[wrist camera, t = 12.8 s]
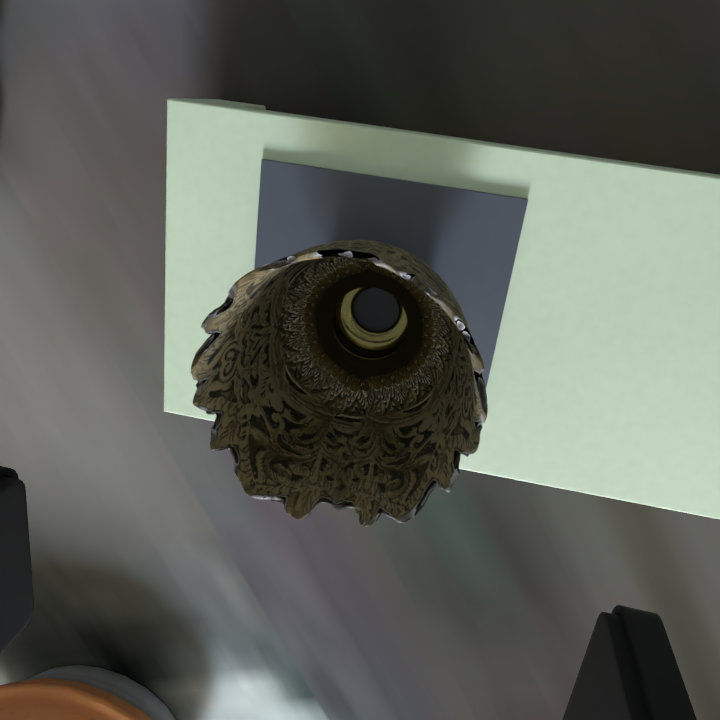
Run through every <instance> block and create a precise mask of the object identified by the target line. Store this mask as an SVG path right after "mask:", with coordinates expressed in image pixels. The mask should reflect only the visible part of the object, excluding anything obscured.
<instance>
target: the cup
mask: <svg viewBox="0 0 720 720" xmlns="http://www.w3.org/2000/svg"><path fill="white" fill-rule="evenodd" d="M370 288H379V289H382V290H384V291H387V292H388V293H390V294H391V295H393V296H394V298H395V299H396V301H397V303H398V307H399V314H398V318H397V320H396V322H395V323H394V324H393V325H392V326H391V327H390V328H389V329H387V330H384V331H380V332H374V331H370V330H367V329H365V328H364V327H362V326H361V325H360V324H359V323H358V322H357V320H356V318H355V315H354V310H353V308H354V302H355V300H356V298H357V297H358V295H359V294H360V293H361V292H363V291H364V290H367V289H370ZM201 328H202V329H203V330H204V331H205V333H207V334H208V335H210V334H211V335H210V336H209V338H208V339H206V341H205V342H204V343H203V344H202V346H201V347H200V348H199V349H198V351H197V352H196V354H195V357H194V359H193V362H192V365H191V374H192V377H193V380H197V381H198V382H197V384H196V387H197V390H196V393H195V395H194V398H193V405H194V406H196V407H197V408H199V409H201V410H204V411H206V413H207V414H209V415H214V414H216V419H215V421H214V425H213V427H212V428H211V442H210V448H211V450H212V451H216V450H223V449H226V448H227V449H229V450H230V453H231V454H232V456H233V459H234V471H235V473H236V475H237V477H238V479H239V480H240V482H241V484H242V486H243V488H244V491H245V492H246V493H247V494H248V495H249V496H251V497H253V498H257V499H269V500H272V501H278V502H283V504H284V509H285V512H286V513H288V514H289V515H291V516H292V517H294V518H296V519H298V520H301V519H304V518H307V517H309V516H310V515H311V511H312V510H313V508H315V507H316V506H317V505H318V504H319V503H326V504H330V505H332V506H333V507H334V508H335V509H336V510H341V509H344V508H347V507H348V508H354V509H355V511H356V513H359V523H360V525H361V526H366V527H367V526H370V525H372V524H374V523H375V522H376V521H377V520H378V518H379V517H380V515H381V513H384V514H386V515H387V516H388V517H389V518H392V519H393V520H395V521H396V522H397V523H405V522H407V521H408V520H410V519H412V518H413V517H415V516H416V515H417V514H418V513H419V511H420V510H421V508H422V507H423V506H424V504H425V502H426V501H427V499H428V497H429V495H430V493H431V492H432V491H433V489H434V488H435V487H436V486H437V485H438V487H441V488H442V490H446V491H447V492H450V491H451V490H452V488H453V486H454V485H455V482H456V480H457V477H458V475H459V473H460V472H459V462H460V456H461V454H462V455H465V456H467V457H468V456H469V454H474V453H475V452H476V451H477V449H478V447H479V442H480V432H481V429H482V427H483V426H482V424H483V423H485V421H486V419H487V412H488V405H487V395H486V388H485V383H484V380H483V376H482V371H483V370H485V367H484V363H483V360H482V357H481V354H480V353H479V351H478V349H477V347H476V345H475V342H474V340H473V337H472V334H471V332H470V329H469V326H468V324H467V321H466V319H465V316H464V314H463V311H462V309H461V307H460V306H459V304H458V302H457V300H456V298H455V296H454V295H453V293H452V292H451V290H450V289H449V287H448V286H447V284H446V283H445V282H444V281H443V280H442V278H441V277H440V276H439V275H438V274H437V273H436V272H435V271H434V270H433V269H432V268H431V267H430V266H429V265H427V264H426V263H425V262H423V261H422V260H421V259H419V258H418V257H416V256H414V255H413V254H411V253H409V252H407V251H405V250H403V249H401V248H398V247H396V246H393V245H390V244H386V243H382V242H377V241H371V240H342V241H335V242H329V243H326V244H322V245H318V246H314V247H311V248H309V249H306V250H303V251H300V252H298V253H295V254H293V255H290V256H287V257H284V258H282V259H279V260H277V261H274V262H271V263H268V264H265V265H263V266H261V267H258V268H256V269H254V270H252V271H250V272H249V273H247V274H246V275H244V276H243V277H241V278H240V279H239V280H238V281H236V282H235V284H234V285H233V286H232V287H231V289H230V290H229V292H228V296H227V298H226V300H225V302H224V303H223V304H222V305H221V306H220V307H218V308H216V309H214V310H213V311H212V312H211V313H209V314H208V316H207V317H206V318H205V320H204V321H203V322H202V325H201Z"/></svg>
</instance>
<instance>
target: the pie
mask: <svg viewBox="0 0 720 720" xmlns="http://www.w3.org/2000/svg"><path fill="white" fill-rule="evenodd" d="M0 720H176V719H175V717H174V716H173V715H172V713H171V712H170V710H169V709H168V708H167V706H166V705H165V704H164V703H163V702H162V701H161V700H159V699H158V698H157V697H156V696H155V695H154V694H153V693H151V692H150V691H149V690H148V689H147V688H145V687H143V686H142V685H140V684H138V683H136V682H135V681H133V680H131V679H129V678H128V677H126V676H124V675H121V674H118V673H115V672H112V671H109V670H106V669H103V668H100V667H92V666H83V665H71V666H64V667H57V668H52V669H50V670H47V671H45V672H42V673H40V674H37V675H35V676H32V677H30V678H27V679H25V680H23V681H18V682H13V683H8V684H4V685H0Z"/></svg>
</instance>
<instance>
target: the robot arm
mask: <svg viewBox="0 0 720 720" xmlns="http://www.w3.org/2000/svg"><path fill="white" fill-rule="evenodd" d="M33 610H34V596H33V583H32V570H31V557H30V543H29V530H28V517H27V503H26V490H25V485H24V483H23V481H21V480H19V478H18V474H17V473H16V471H15V470H13V469H11V468H7V467H2V466H0V656H1V655H2V654H3V653H4V652H5V650H6V649H7V648H8V647H9V646H10V645H11V644H12V643H13V641H14V640H15V639H16V638H17V637H18V636H19V635H20V634H21V633H22V631H23V630H24V629H25V628H26V626H27V625H28V623H29V621H30V619H31V617H32V614H33ZM563 720H697V719H696V716H695V714H694V711H693V708H692V705H691V702H690V699H689V696H688V694H687V691H686V688H685V685H684V682H683V679H682V677H681V674H680V671H679V668H678V665H677V662H676V659H675V657H674V654H673V651H672V648H671V645H670V642H669V639H668V637H667V634H666V631H665V628H664V625H663V622H662V620H661V618H660V616H659V615H657V614H656V613H652V612H647V611H643V610H638V609H634V608H629V607H625V606H620V605H618V606H616V607H615V608H614V609H613V611H612V613H611V614H610V613H606V612H601V614H600V615H599V617H598V619H597V622H596V625H595V628H594V631H593V633H592V636H591V639H590V642H589V645H588V648H587V651H586V654H585V657H584V659H583V662H582V665H581V668H580V671H579V674H578V677H577V680H576V683H575V685H574V688H573V691H572V694H571V697H570V700H569V703H568V706H567V708H566V711H565V714H564V717H563Z"/></svg>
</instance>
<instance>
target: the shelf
mask: <svg viewBox="0 0 720 720" xmlns="http://www.w3.org/2000/svg"><path fill="white" fill-rule="evenodd" d="M342 240H371V241H377V242H382V243H386V244H390V245H393V246H396V247H398V248H401V249H403V250H405V251H407V252H409V253H411V254H413V255H414V256H416V257H418V258H419V259H421V260H422V261H423V262H425V263H426V264H427V265H429V266H430V267H431V268H432V269H433V270H434V271H435V272H436V273H437V274H438V275H439V276H440V277H441V278H442V280H443V281H444V282H445V283H446V284H447V286H448V287H449V289H450V290H451V292H452V293H453V295H454V296H455V298H456V300H457V302H458V304H459V306H460V307H461V309H462V311H463V314H464V316H465V319H466V321H467V324H468V326H469V329H470V332H471V334H472V337H473V340H474V342H475V345H476V347H477V349H478V351H479V353H480V354H481V357H482V360H483V363H484V367H485V370H483V371H482V376H483V380H484V383H485V388H486V395H487V405H488V412H487V419H486V421H485V423H483V424H482V426H483V427H482V429H481V432H480V442H479V447H478V449H477V451H476V452H475V453H474V454H469V456H468V457H467V456H465V455H462V454H461V456H460V462H459V469H464V470H469V471H474V472H479V473H484V474H489V475H495V476H500V477H505V478H510V479H515V480H520V481H525V482H531V483H536V484H541V485H546V486H551V487H556V488H561V489H567V490H572V491H577V492H582V493H587V494H592V495H598V496H603V497H608V498H613V499H618V500H623V501H628V502H634V503H639V504H644V505H649V506H654V507H659V508H664V509H670V510H675V511H680V512H685V513H690V514H695V515H700V516H706V517H711V518H716V519H720V175H718V174H711V173H704V172H697V171H690V170H683V169H676V168H669V167H662V166H655V165H648V164H641V163H634V162H627V161H620V160H613V159H606V158H599V157H592V156H585V155H578V154H571V153H564V152H557V151H550V150H543V149H536V148H529V147H522V146H515V145H508V144H501V143H494V142H487V141H480V140H473V139H466V138H459V137H452V136H445V135H438V134H431V133H424V132H417V131H410V130H403V129H396V128H389V127H382V126H375V125H368V124H361V123H354V122H347V121H339V120H332V119H325V118H318V117H311V116H304V115H297V114H290V113H283V112H276V111H269V110H266V107H265V106H263V105H256V104H249V103H242V102H234V101H227V100H220V99H182V98H169V99H168V100H167V171H166V259H165V346H164V411H165V412H170V413H175V414H181V415H186V416H191V417H196V418H201V419H206V420H212V421H215V419H216V414H214V415H209V414H207V413H206V411H204V410H201V409H199V408H197V407H196V406H194V405H193V398H194V395H195V393H196V390H197V387H196V384H197V382H198V381H197V380H193V377H192V374H191V365H192V362H193V359H194V357H195V354H196V352H197V351H198V349H199V348H200V347H201V346H202V344H203V343H204V342H205V341H206V339H208V338H209V336H210V335H211V334H210V335H208V334H207V333H205V331H204V330H203V329H202V328H201V325H202V322H203V321H204V320H205V318H206V317H207V316H208V314H209V313H211V312H212V311H213V310H214V309H216V308H218V307H220V306H221V305H222V304H223V303H224V302H225V300H226V298H227V296H228V292H229V290H230V289H231V287H232V286H233V285H234V284H235V282H236V281H238V280H239V279H240V278H241V277H243V276H244V275H246V274H247V273H249V272H250V271H252V270H254V269H256V268H258V267H261V266H263V265H265V264H268V263H271V262H274V261H277V260H279V259H282V258H284V257H287V256H290V255H293V254H295V253H298V252H300V251H303V250H306V249H309V248H311V247H314V246H318V245H322V244H326V243H329V242H335V241H342ZM353 310H354V315H355V318H356V320H357V322H358V323H359V324H360V325H361V326H362V327H364V328H365V329H367V330H370V331H374V332H380V331H384V330H387V329H389V328H390V327H391V326H392V325H393V324H394V323H395V322H396V320H397V318H398V314H399V307H398V303H397V301H396V299H395V298H394V296H393V295H391V294H390V293H388V292H387V291H384V290H382V289H379V288H370V289H367V290H364V291H363V292H361V293H360V294H359V295H358V297H357V298H356V300H355V302H354V308H353Z"/></svg>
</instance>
